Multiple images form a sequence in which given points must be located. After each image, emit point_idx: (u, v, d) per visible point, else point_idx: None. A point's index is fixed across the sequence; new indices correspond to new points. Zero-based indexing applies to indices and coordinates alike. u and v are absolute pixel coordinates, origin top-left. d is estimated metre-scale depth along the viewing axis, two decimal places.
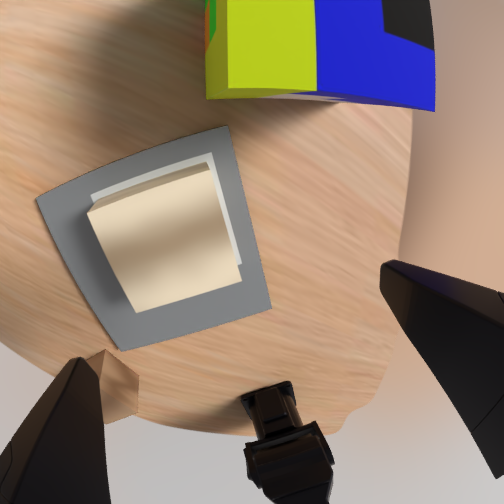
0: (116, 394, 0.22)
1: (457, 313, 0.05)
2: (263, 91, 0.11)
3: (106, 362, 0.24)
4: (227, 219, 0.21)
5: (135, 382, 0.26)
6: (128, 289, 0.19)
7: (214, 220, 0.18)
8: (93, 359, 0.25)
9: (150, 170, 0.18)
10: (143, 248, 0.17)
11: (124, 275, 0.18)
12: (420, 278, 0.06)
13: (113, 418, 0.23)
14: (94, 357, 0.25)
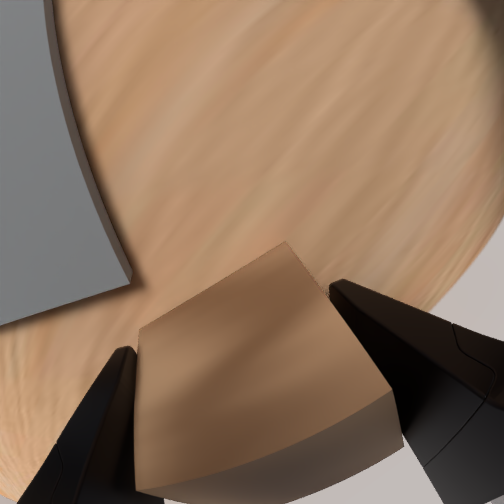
0: (218, 443, 0.04)
1: (401, 345, 0.05)
2: None
3: (147, 363, 0.07)
4: None
5: (288, 276, 0.07)
6: None
7: None
8: None
9: None
10: None
11: None
12: (365, 303, 0.06)
13: (384, 445, 0.05)
14: None
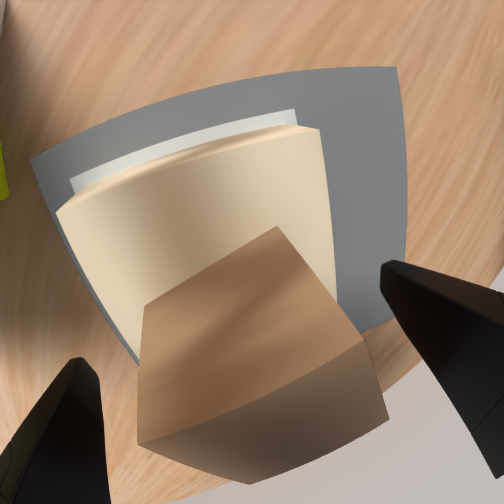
0: (215, 392, 0.05)
1: (457, 312, 0.05)
2: None
3: (151, 333, 0.08)
4: (193, 135, 0.10)
5: (278, 253, 0.08)
6: None
7: (157, 193, 0.08)
8: None
9: None
10: None
11: None
12: (420, 278, 0.06)
13: (367, 411, 0.06)
14: None
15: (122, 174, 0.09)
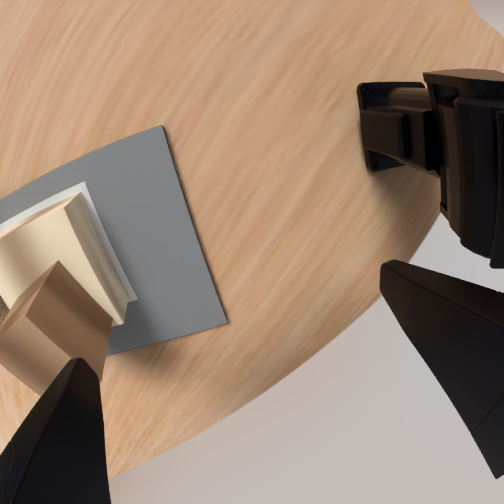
0: (4, 331, 0.10)
1: (457, 313, 0.05)
2: None
3: (10, 310, 0.12)
4: (37, 205, 0.15)
5: (46, 276, 0.13)
6: None
7: (8, 245, 0.12)
8: None
9: None
10: None
11: None
12: (420, 278, 0.06)
13: None
14: None
15: (6, 231, 0.14)
